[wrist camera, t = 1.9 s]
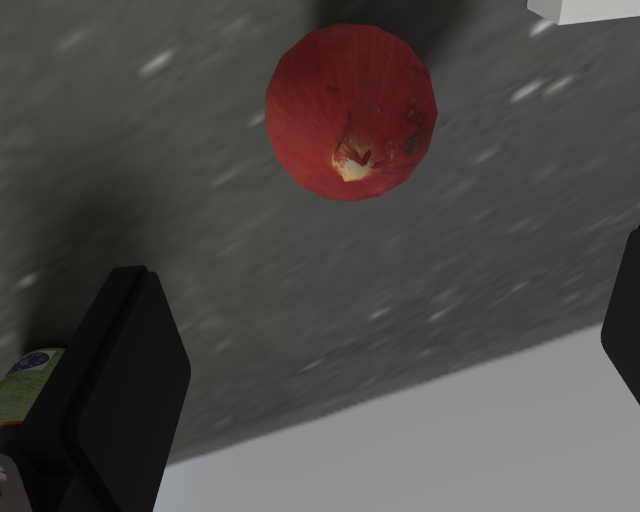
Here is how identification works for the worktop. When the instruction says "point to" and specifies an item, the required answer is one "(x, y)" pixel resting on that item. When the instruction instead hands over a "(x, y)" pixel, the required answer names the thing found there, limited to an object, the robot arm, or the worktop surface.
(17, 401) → the beverage can
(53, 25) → the worktop surface
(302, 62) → the red pomegranate
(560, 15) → the kitchen scale
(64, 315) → the worktop surface
